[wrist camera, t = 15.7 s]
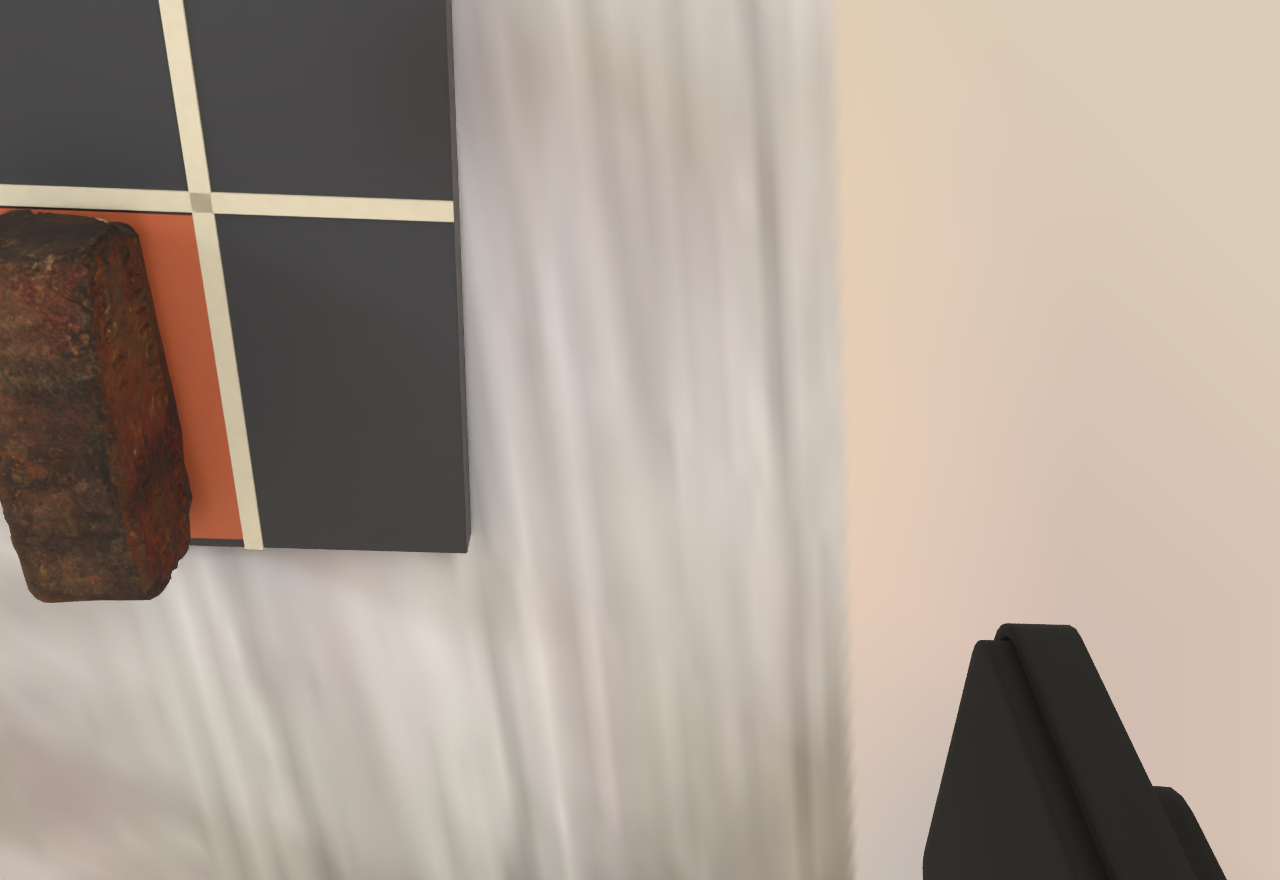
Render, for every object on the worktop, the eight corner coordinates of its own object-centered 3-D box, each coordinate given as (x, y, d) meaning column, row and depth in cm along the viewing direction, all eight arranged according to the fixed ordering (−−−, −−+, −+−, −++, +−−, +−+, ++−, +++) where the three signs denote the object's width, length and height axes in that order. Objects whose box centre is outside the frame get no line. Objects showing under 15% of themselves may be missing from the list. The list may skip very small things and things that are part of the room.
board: (440, -287, 29) (433, -286, 28) (471, 532, 42) (466, 555, 41) (-158, -316, 29) (-190, -316, 28) (54, 520, 41) (38, 543, 40)
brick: (209, 515, 40) (163, 607, 36) (86, 516, 40) (25, 608, 35) (140, 201, 34) (75, 268, 30) (-3, 202, 34) (-87, 269, 30)
